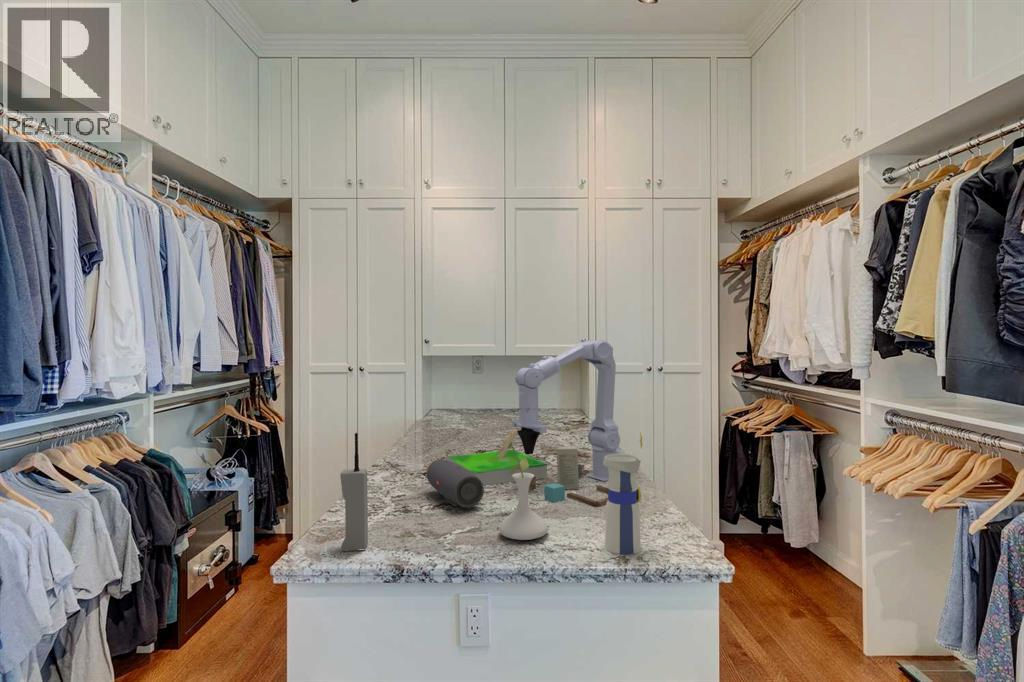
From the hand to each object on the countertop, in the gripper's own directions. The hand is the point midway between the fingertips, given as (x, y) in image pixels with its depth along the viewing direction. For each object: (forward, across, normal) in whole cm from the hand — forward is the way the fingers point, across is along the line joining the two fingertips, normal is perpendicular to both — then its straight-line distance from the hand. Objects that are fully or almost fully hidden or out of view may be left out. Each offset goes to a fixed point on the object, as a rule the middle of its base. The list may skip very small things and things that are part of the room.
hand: (529, 453), depth 165 cm
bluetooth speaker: (+11, -3, -24) cm, 26 cm away
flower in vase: (+11, +30, -25) cm, 40 cm away
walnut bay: (+10, +18, +10) cm, 23 cm away
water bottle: (+11, +48, -11) cm, 50 cm away
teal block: (+10, +13, -1) cm, 17 cm away
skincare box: (+11, +6, +10) cm, 16 cm away
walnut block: (+10, 0, -1) cm, 11 cm away
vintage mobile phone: (+11, +14, -58) cm, 61 cm away
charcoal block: (+10, -3, +20) cm, 23 cm away
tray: (+11, -21, +2) cm, 24 cm away
